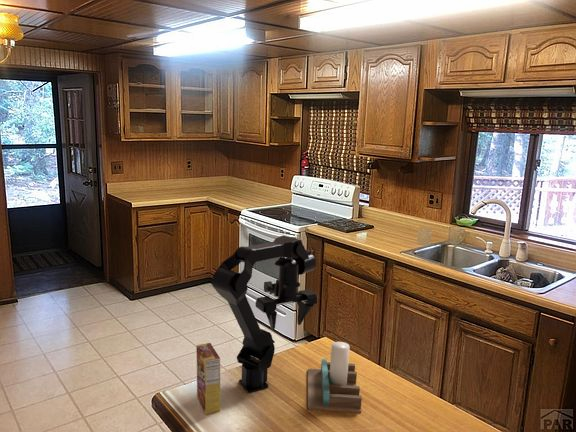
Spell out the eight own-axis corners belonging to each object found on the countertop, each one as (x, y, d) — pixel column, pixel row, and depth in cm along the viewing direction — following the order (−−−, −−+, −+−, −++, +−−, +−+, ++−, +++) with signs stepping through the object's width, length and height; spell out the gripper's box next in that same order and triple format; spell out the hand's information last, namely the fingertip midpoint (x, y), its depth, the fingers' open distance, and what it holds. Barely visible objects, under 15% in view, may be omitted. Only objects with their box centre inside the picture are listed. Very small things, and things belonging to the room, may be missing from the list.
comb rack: (361, 412, 123) (362, 396, 122) (307, 409, 123) (308, 393, 122) (353, 373, 142) (354, 359, 141) (307, 370, 143) (308, 356, 142)
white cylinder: (335, 395, 129) (338, 351, 127) (325, 386, 133) (328, 343, 131) (350, 390, 132) (353, 347, 129) (339, 382, 136) (342, 340, 133)
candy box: (195, 396, 126) (195, 344, 123) (210, 393, 128) (211, 341, 125) (203, 415, 118) (204, 360, 115) (220, 412, 120) (221, 357, 117)
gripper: (300, 266, 150) (298, 312, 153) (248, 274, 141) (246, 322, 144) (320, 277, 141) (317, 325, 144) (265, 285, 131) (263, 337, 134)
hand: (286, 327), depth 142 cm, fingers open, 9 cm apart
